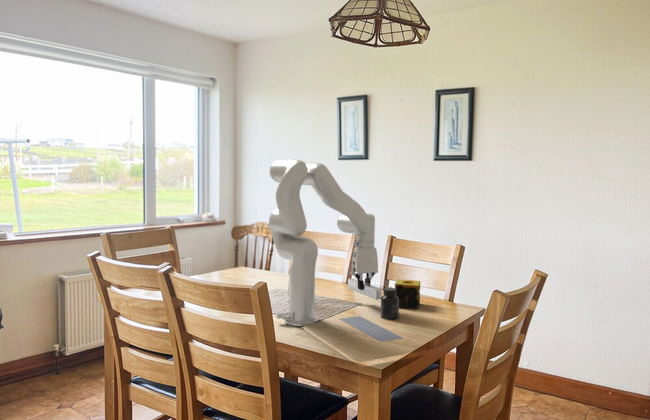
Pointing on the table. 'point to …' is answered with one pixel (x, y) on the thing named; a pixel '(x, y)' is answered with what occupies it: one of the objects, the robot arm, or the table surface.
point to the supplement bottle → (389, 304)
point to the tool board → (371, 328)
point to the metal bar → (365, 289)
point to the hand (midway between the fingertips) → (364, 288)
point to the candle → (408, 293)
